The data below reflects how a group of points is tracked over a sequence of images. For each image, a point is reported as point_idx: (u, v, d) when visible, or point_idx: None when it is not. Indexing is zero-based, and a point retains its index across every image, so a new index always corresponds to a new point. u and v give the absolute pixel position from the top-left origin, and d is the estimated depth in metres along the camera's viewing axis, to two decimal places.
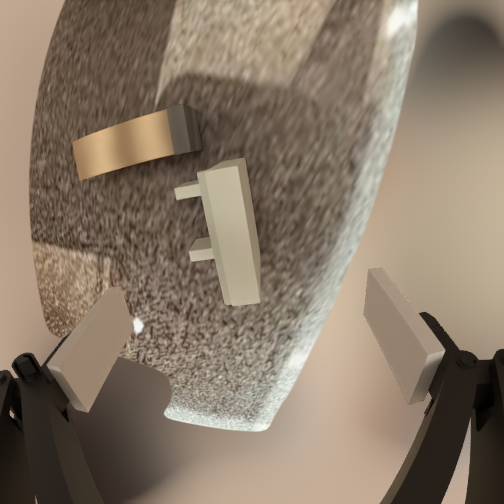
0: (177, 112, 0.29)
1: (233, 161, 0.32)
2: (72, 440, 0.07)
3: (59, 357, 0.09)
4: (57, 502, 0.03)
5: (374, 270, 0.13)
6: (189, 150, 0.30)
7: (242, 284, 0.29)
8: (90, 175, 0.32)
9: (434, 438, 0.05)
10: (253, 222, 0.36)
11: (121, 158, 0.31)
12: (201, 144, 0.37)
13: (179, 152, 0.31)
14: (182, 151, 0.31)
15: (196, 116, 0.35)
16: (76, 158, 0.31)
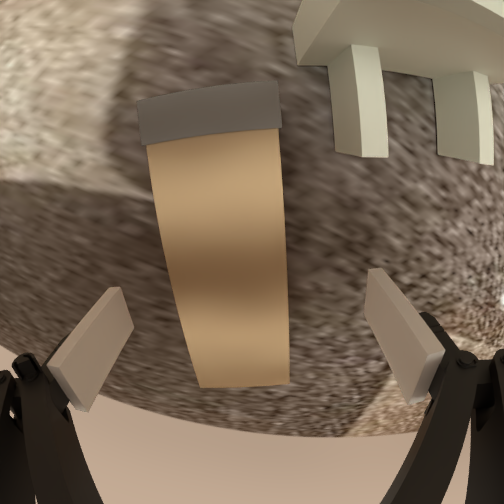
0: (158, 113, 0.10)
1: (310, 3, 0.09)
2: (72, 440, 0.07)
3: (59, 357, 0.09)
4: (57, 502, 0.03)
5: (374, 270, 0.13)
6: (274, 83, 0.10)
7: None
8: (285, 362, 0.15)
9: (434, 438, 0.05)
10: None
11: (261, 285, 0.13)
12: None
13: (276, 112, 0.10)
14: (274, 103, 0.10)
15: None
16: (238, 384, 0.16)
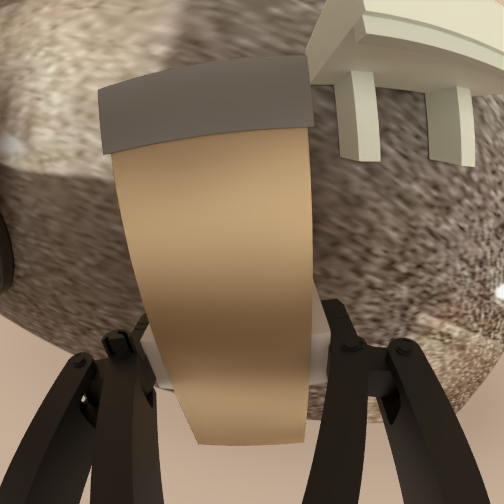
0: (126, 106, 0.06)
1: (318, 38, 0.13)
2: (150, 428, 0.08)
3: None
4: (114, 498, 0.04)
5: None
6: (301, 59, 0.06)
7: None
8: (301, 423, 0.11)
9: (332, 425, 0.06)
10: None
11: (277, 346, 0.09)
12: None
13: (305, 102, 0.06)
14: (302, 89, 0.06)
15: None
16: (243, 443, 0.12)
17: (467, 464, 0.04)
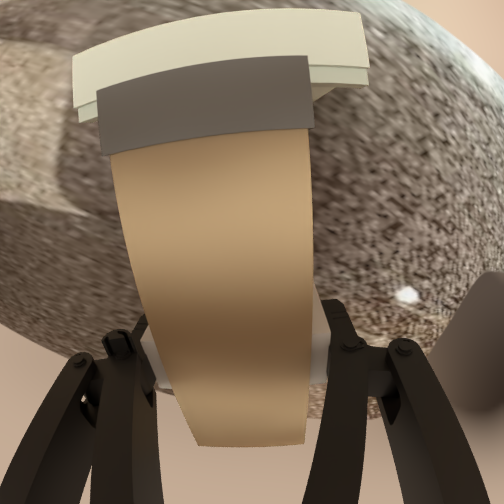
0: (124, 107, 0.06)
1: None
2: (151, 428, 0.08)
3: None
4: (114, 498, 0.04)
5: None
6: (302, 60, 0.06)
7: (312, 33, 0.09)
8: (301, 425, 0.11)
9: (332, 425, 0.06)
10: None
11: (277, 349, 0.09)
12: None
13: (305, 103, 0.06)
14: (302, 89, 0.06)
15: None
16: (243, 445, 0.12)
17: (467, 464, 0.04)
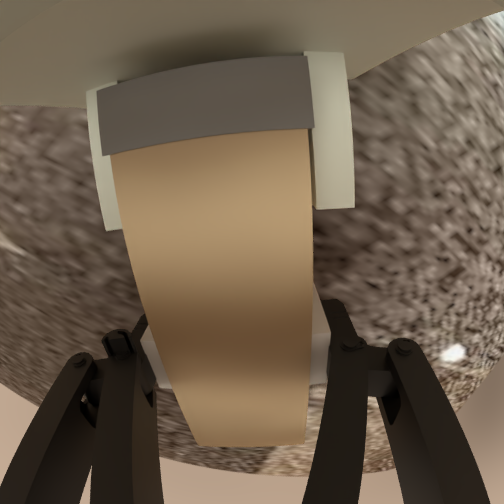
0: (125, 107, 0.06)
1: None
2: (151, 429, 0.08)
3: None
4: (114, 498, 0.04)
5: None
6: (301, 60, 0.06)
7: None
8: (301, 425, 0.11)
9: (332, 425, 0.06)
10: None
11: (277, 349, 0.09)
12: None
13: (305, 103, 0.06)
14: (302, 90, 0.06)
15: None
16: (243, 445, 0.12)
17: (467, 464, 0.04)
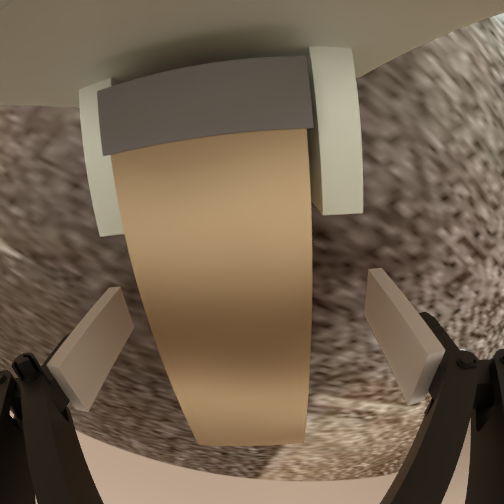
0: (125, 107, 0.06)
1: None
2: (72, 440, 0.07)
3: (59, 357, 0.09)
4: (57, 502, 0.03)
5: (374, 270, 0.13)
6: (300, 60, 0.06)
7: None
8: (301, 424, 0.11)
9: (434, 438, 0.05)
10: None
11: (276, 347, 0.09)
12: None
13: (304, 103, 0.06)
14: (301, 90, 0.06)
15: None
16: (243, 444, 0.12)
17: None
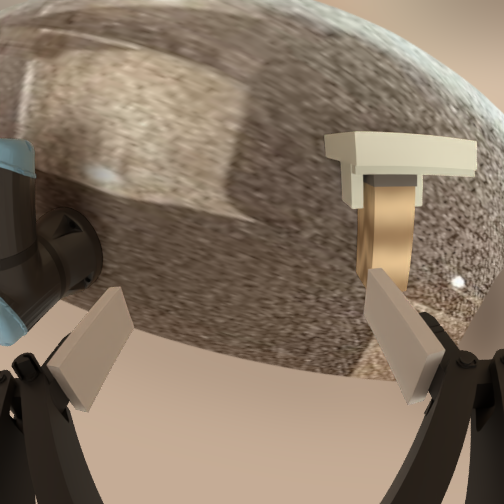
0: (381, 176, 0.29)
1: (334, 142, 0.29)
2: (72, 440, 0.07)
3: (59, 357, 0.09)
4: (57, 502, 0.03)
5: (374, 270, 0.13)
6: None
7: (460, 153, 0.21)
8: (406, 277, 0.34)
9: (434, 438, 0.05)
10: None
11: (404, 241, 0.32)
12: None
13: (415, 181, 0.29)
14: (415, 177, 0.29)
15: None
16: None
17: None
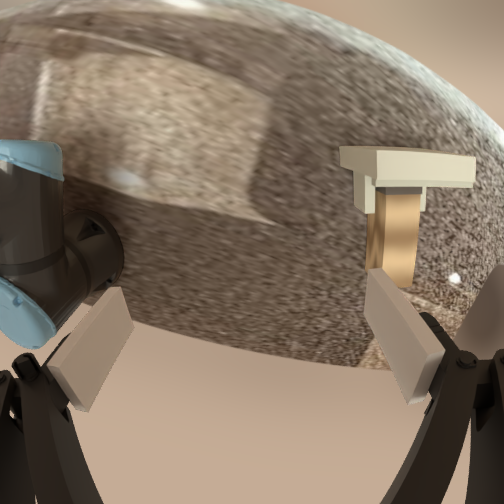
0: None
1: (352, 155, 0.33)
2: (72, 440, 0.07)
3: (59, 357, 0.09)
4: (57, 502, 0.03)
5: (374, 270, 0.13)
6: None
7: (461, 167, 0.25)
8: (412, 274, 0.38)
9: (434, 438, 0.05)
10: None
11: (410, 242, 0.36)
12: None
13: (421, 189, 0.33)
14: None
15: None
16: None
17: None
